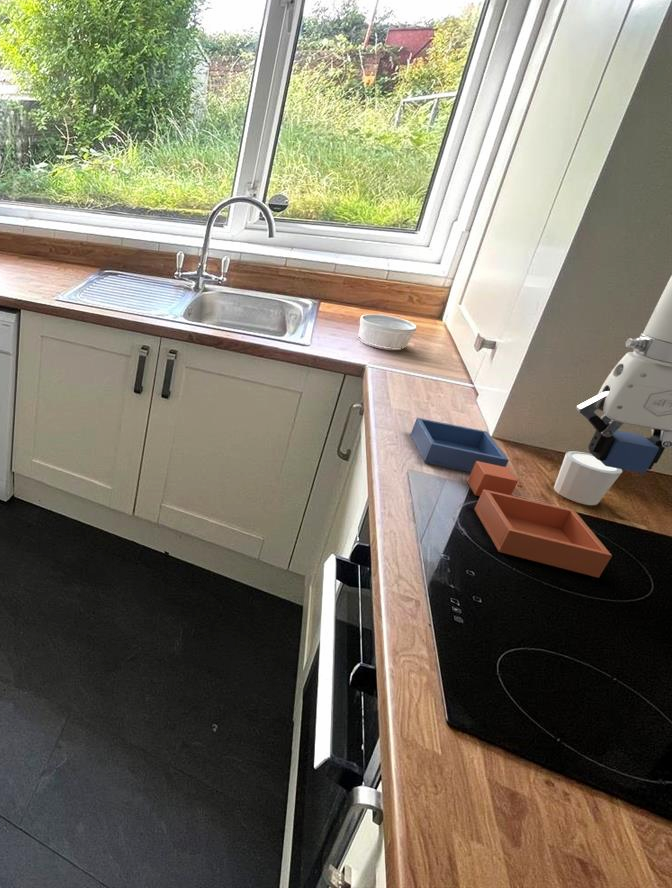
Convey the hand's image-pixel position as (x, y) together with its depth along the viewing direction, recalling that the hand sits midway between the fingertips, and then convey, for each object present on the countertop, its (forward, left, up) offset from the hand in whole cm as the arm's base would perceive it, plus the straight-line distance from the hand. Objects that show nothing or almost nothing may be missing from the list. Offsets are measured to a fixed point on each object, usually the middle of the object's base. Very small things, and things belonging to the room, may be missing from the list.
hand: (619, 459), depth 90 cm
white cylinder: (+10, -2, -12) cm, 16 cm away
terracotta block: (+3, +12, -12) cm, 17 cm away
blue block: (0, 0, -1) cm, 1 cm away
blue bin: (+15, +14, -12) cm, 24 cm away
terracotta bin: (-10, +10, -12) cm, 19 cm away
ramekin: (+81, +15, -12) cm, 83 cm away
